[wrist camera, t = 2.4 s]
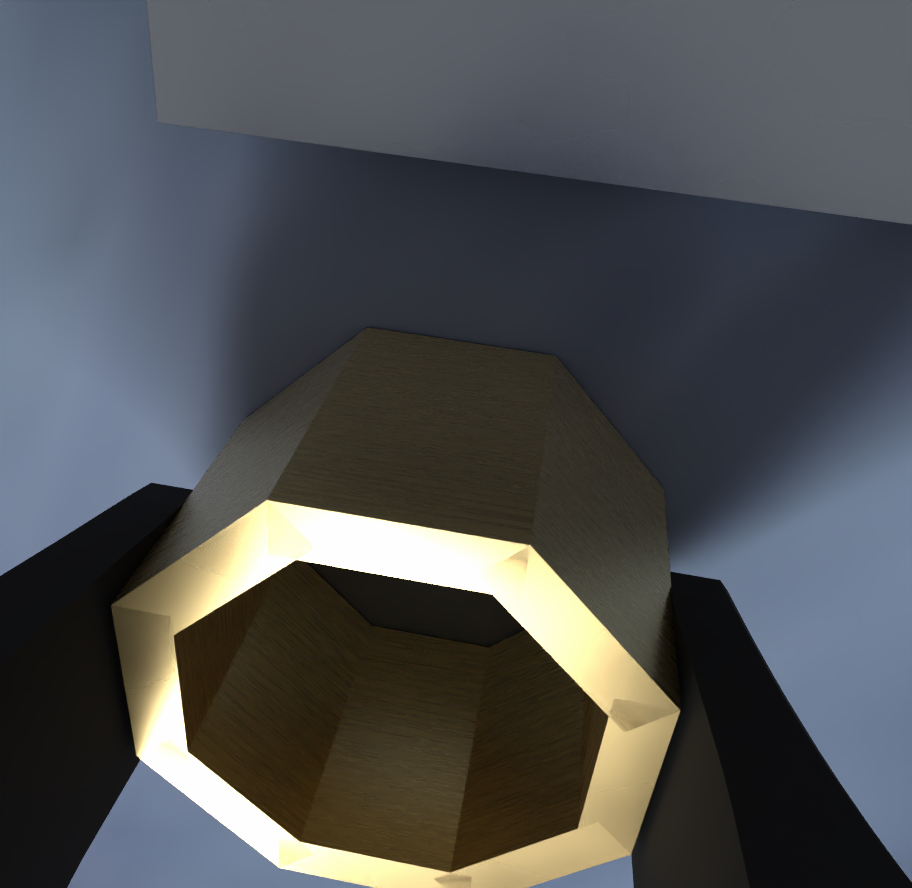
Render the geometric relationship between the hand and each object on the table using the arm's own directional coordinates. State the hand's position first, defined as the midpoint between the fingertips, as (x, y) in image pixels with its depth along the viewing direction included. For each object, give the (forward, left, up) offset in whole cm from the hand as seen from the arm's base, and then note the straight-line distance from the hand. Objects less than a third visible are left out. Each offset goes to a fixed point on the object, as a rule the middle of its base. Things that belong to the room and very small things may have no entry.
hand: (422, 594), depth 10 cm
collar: (0, 0, -1) cm, 1 cm away
